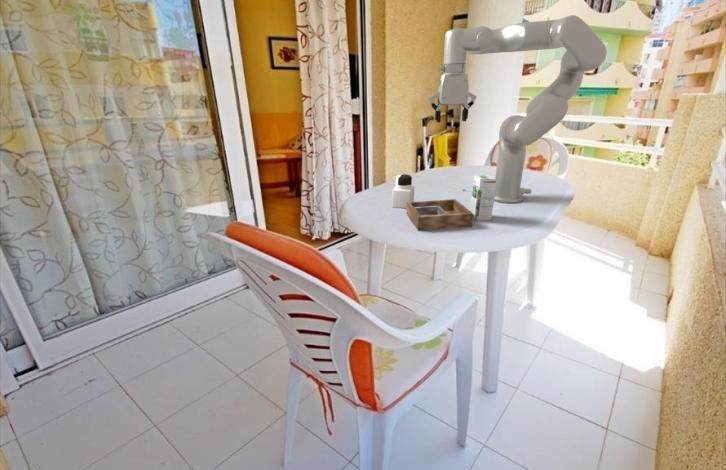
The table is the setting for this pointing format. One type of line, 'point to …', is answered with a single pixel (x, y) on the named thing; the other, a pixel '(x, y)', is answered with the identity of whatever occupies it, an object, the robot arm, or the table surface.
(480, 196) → the syrup box
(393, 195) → the medicine bottle
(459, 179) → the table surface
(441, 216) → the walled box
